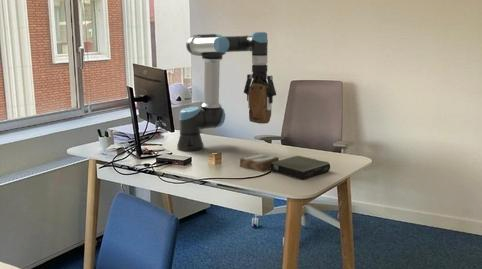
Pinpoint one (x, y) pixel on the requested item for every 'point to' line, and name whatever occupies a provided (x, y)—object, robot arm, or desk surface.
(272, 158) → the plinth
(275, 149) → the desk surface
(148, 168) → the desk surface
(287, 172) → the network switch
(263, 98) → the block
